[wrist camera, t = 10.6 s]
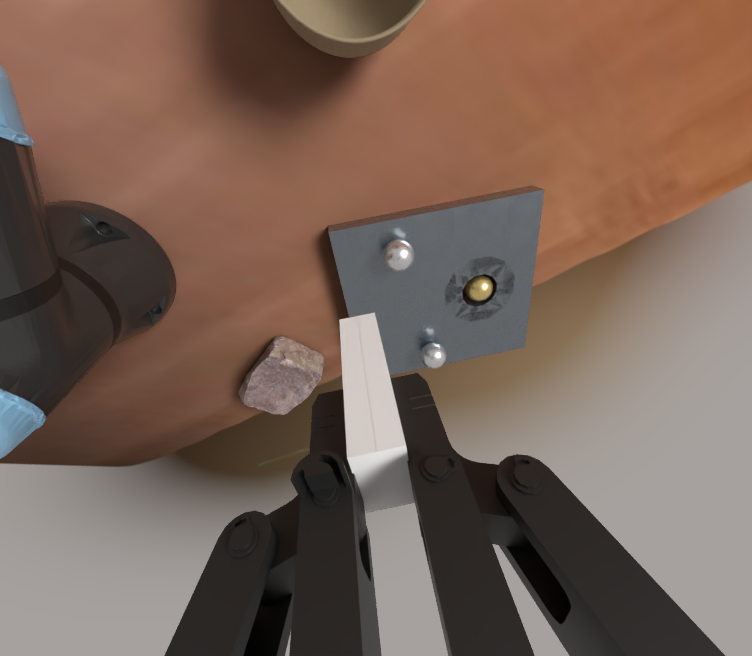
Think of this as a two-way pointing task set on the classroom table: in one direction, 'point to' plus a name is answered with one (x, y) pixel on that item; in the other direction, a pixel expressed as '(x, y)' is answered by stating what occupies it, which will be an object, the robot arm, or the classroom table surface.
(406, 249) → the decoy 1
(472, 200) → the plate
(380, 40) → the bowl
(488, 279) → the brass ball
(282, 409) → the stone
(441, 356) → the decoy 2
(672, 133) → the classroom table surface
